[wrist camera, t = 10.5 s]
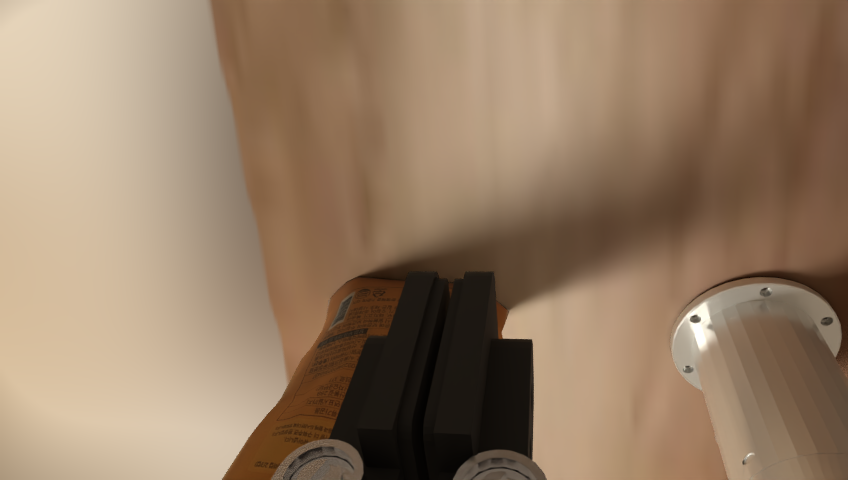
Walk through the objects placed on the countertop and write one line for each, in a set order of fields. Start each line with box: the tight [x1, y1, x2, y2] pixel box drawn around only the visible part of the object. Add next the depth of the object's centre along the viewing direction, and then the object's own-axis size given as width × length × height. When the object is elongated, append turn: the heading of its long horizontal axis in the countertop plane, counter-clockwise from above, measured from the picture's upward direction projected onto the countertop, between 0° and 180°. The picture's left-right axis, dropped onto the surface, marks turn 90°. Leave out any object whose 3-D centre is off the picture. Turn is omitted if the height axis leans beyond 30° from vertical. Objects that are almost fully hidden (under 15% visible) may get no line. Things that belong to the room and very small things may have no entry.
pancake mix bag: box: [222, 277, 509, 480], centre depth 42 cm, size 7×19×28 cm, turn 93°
